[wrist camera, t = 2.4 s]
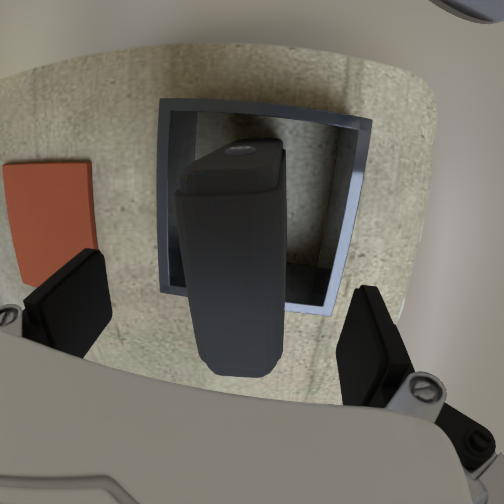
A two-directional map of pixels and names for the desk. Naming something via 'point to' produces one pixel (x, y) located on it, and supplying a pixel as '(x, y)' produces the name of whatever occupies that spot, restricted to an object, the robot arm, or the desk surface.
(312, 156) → the desk surface
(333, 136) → the desk surface
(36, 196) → the mat
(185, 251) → the card reader
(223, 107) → the grey open bin
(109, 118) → the desk surface
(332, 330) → the desk surface
